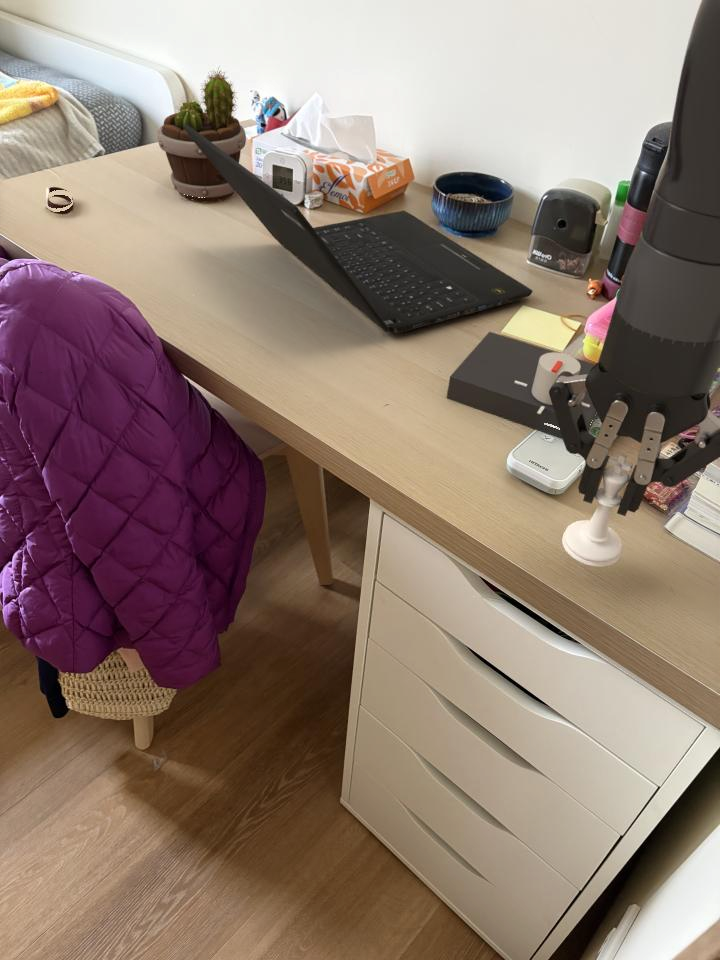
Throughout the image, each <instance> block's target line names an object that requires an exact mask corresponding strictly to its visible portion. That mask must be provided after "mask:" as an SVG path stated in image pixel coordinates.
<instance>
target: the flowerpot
mask: <svg viewBox="0 0 720 960" xmlns="http://www.w3.org/2000/svg"><path fill="white" fill-rule="evenodd" d="M220 67H221V65H219V66H218V68H217V71H215V70H214V69H212V70H209V72H211V73H212V74H211V75H210V74H208V75H206V76H207V77H206V78H205V79H206V80H205V79H204V80H203V82H204V83H203V84H200V87H201V88H200V89H199V91H203V93H200V94H199V95H200V96H199V99H200V101H198V102H197V101H193V100H194V97H192V98H191V99H187V100H185V101H184V100H183V101H181V103H182V105H181V104H179V106H175V108H176V109H177V110H178V112H174V113H173V114H170V115H168V116H167V117H165V119H164V120H163V124H162V125H161V126H160V127H159V128H158V129H157V132H156V135H157V142H158V146H159V148H160V149H161V150H162V151H164V152H165V155H166V159H167V161H168V165H169V167H170V169H171V174H170V180H171V183H172V186H173V188H174V190H175V191H177V192H178V194H179V195H180V196H183V197H184V199H185V200H187V201H193V202H196V203H216V202H220V201H222V202H223V201H225V200H227V199H228V200H229V199H230V198H231V197H233V196H234V195H235V193H236V192H235V191H234V190H233V188H232V187H231V186H230V185H229V184H228V182H227V181H226V180H225V179H224V178H223V176H222V175H221V174H220V173H219V172H218V170H217V169H216V168H215V167H214V166H213V164H212V163H211V162H210V161H209V160H208V158H207V157H206V156H205V155H204V153H203V152H202V151H201V150H200V149H199V147H198V146H197V145H196V144H195V143H194V141H193V140H192V139H191V138H190V136H189V135H188V133H187V132H186V130H185V129H184V124H187V125H189V126H190V127H191V128H193V129H194V130H195V131H197V132H198V133H199V134H201V135H202V136H203V137H205V138H206V139H208V140H209V141H210V142H212V143H213V144H214V145H216V146H217V147H218V148H220V149H221V150H222V151H224V152H225V153H226V154H227V155H229V156H230V157H231V158H233V159H234V160H235V161H237V162H238V163H239V164H240V160H241V152H242V150H243V149H244V147H245V146H246V143H247V136H246V135H247V134H246V131H245V128H244V126H242V125H241V124H240V121H239V119H238V118H236V117H235V115H236V111H237V110H238V109H237V108H236V107H237V100H236V99H239V98H238V97H237V96H236V94H238V92H236V91H234V89H233V85H234V82H230V80H229V81H228V80H227V79H230V78H229V76H225V74H226V72H225V71H223V72H222V70H219V69H220ZM184 98H185V99H186V97H184V96H183V99H184ZM199 102H200V103H199ZM202 104H203V105H202ZM201 105H202V106H201ZM204 106H205V107H204ZM233 113H234V114H233ZM184 194H185V195H184ZM187 195H188V196H187ZM192 196H193V197H192ZM198 197H200V198H198ZM201 197H203V198H201ZM204 197H205V198H204Z"/></svg>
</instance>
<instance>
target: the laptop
mask: <svg viewBox="0 0 720 960" xmlns="http://www.w3.org/2000/svg"><path fill="white" fill-rule="evenodd" d="M184 129H185V130H186V132H187V133H188V135H189V136H190V138H191V139H192V140H193V141H194V143H195V144H196V145H197V146H198V147H199V149H200V150H201V151H202V152H203V153H204V155H205V156H206V157H207V158H208V160H209V161H210V162H211V163H212V164H213V166H214V167H215V168H216V169H217V170H218V172H219V173H220V174H221V175H222V176H223V178H224V179H225V180H226V181H227V182H228V184H229V185H230V186H231V187H232V188H233V190H234V191H235V192H234V193H236V194H237V195H238V196H239V197H240V199H241V200H242V201H243V202H244V204H245V205H246V206H247V207H248V209H249V210H250V211H251V212H252V213H253V214H254V215H255V217H256V218H257V219H258V220H259V222H260V223H261V225H263V226H264V228H265V229H266V230H267V231H268V232H269V234H270V235H271V236H272V238H274V240H276V241H277V242H278V243H279V244H280V245H281V246H282V247H284V248H285V249H287V250H288V252H289V253H291V254H292V255H293V256H295V257H296V258H297V259H298V260H299V261H301V263H303V264H304V265H306V266H307V267H308V268H309V269H310V270H311V271H313V272H314V273H315V274H316V275H318V276H319V277H320V278H321V279H323V281H324V282H326V283H327V284H328V285H329V286H330V287H331V288H333V289H334V290H335V291H336V292H337V293H338V294H340V295H341V296H342V297H343V298H345V299H346V300H347V301H348V302H349V303H351V304H352V305H353V306H354V307H356V308H357V309H358V310H359V311H360V312H361V313H363V314H364V315H365V316H366V317H368V319H370V320H371V321H372V322H373V323H374V324H376V325H377V326H379V328H381V330H382V331H383V332H385V333H393V334H400V333H404V332H407V331H411V330H415V329H419V328H423V327H426V326H431V325H434V324H437V323H441V322H446V321H447V320H451V319H455V318H458V317H459V318H460V317H462V316H466V315H470V314H474V313H476V312H477V313H478V312H481V311H485V310H488V309H492V308H495V307H499V306H502V305H505V304H511V303H512V302H516V301H519V300H522V299H525V298H528V297H530V296H531V295H532V293H533V290H532V288H529V287H528V286H526V285H525V284H523V283H521V282H520V281H519V280H517V279H516V278H514V277H512V276H510V275H509V274H507V273H505V272H504V271H502V270H500V268H499V269H498V268H497V267H495V266H494V265H492V264H491V263H489V262H488V261H485V259H483V258H482V257H479V256H478V255H476V254H475V253H474V252H472V251H470V250H468V249H467V248H465V247H464V246H462V245H461V244H459V243H457V242H455V241H454V240H452V239H451V238H449V237H448V236H446V235H444V234H443V233H441V232H440V231H438V230H436V229H435V228H433V227H432V226H430V225H428V224H427V223H425V222H424V221H422V220H421V219H419V218H418V217H417V216H415V215H413V214H412V213H410V212H407V211H406V210H399V211H394V212H389V213H383V214H378V215H372V216H368V217H363V218H358V219H352V220H348V221H341V222H336V223H331V224H326V225H325V224H324V225H321V226H315V227H313V226H312V225H311V223H310V222H309V220H308V219H307V218H306V216H305V215H304V214H303V213H302V212H301V210H300V209H299V208H298V206H297V205H295V204H294V203H293V202H292V201H290V200H289V199H288V198H286V197H285V196H283V195H282V194H281V193H280V192H278V191H277V190H275V189H274V188H273V187H271V186H270V185H269V184H267V183H266V182H265V181H264V180H262V179H260V178H259V177H258V176H257V175H255V174H254V173H253V172H251V171H250V170H249V169H247V168H246V167H245V166H243V164H240V162H239V163H238V162H237V161H235V160H234V159H233V158H231V157H230V156H229V155H227V154H226V153H225V152H224V151H222V150H221V149H220V148H218V147H217V146H216V145H214V144H213V143H212V142H210V141H209V140H208V139H206V138H205V137H203V136H202V135H201V134H199V133H198V132H197V131H195V130H194V129H193V128H191V127H190V126H189V125H187V124H184Z"/></svg>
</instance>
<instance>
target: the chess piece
mask: <svg viewBox="0 0 720 960" xmlns="http://www.w3.org/2000/svg"><path fill="white" fill-rule="evenodd" d="M627 457H628V454H626V453H623V452H621V453H620V454H619V456H618V457H616V456H614V455H610V456H609V459H608V462H607V464H610V465H612V466H608V467H606V468H605V470H604V471H603V477H602V480H603V486H602V487H599V488H598V490H597V492H596V494H595V498H594V500H596V501H597V502H598V505H597V507H596V509H595V511H594V512H593V514H592V516H591V518H590V519H581V520H580V519H579V520H577V521H574V522H572V523H570V524H569V525H568V526H567V527H566V528H565V531H564V533H563V534H562V538H561V541H562V546H563V548H564V550H565V551H566V553H567V554H568V555H569V556H570V557H571V558H572V559H574V560H576V561H577V562H580V563H581V564H584V565H586V566H590V567H598V568H599V567H607V566H610V565H613V564H615V563H616V562H617V561H619V559H620V558H621V555H622V549H623V545H622V544H623V543H622V540H621V537H620V536H619V534H618V533H617V531H615V530H614V529H613V528H611V527H610V526H609V523H610V518H611V512H612V508H616V507H619V506H620V503H621V500H622V498H623V495H622V494H621V493H620V491H621V490H622V489H623V488H624V487H625V486H627V484H628V481H629V479H630V474H629V473H628V472H630V471H631V470H632V467H633V463H630V462H628V461H626V459H627Z"/></svg>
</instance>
